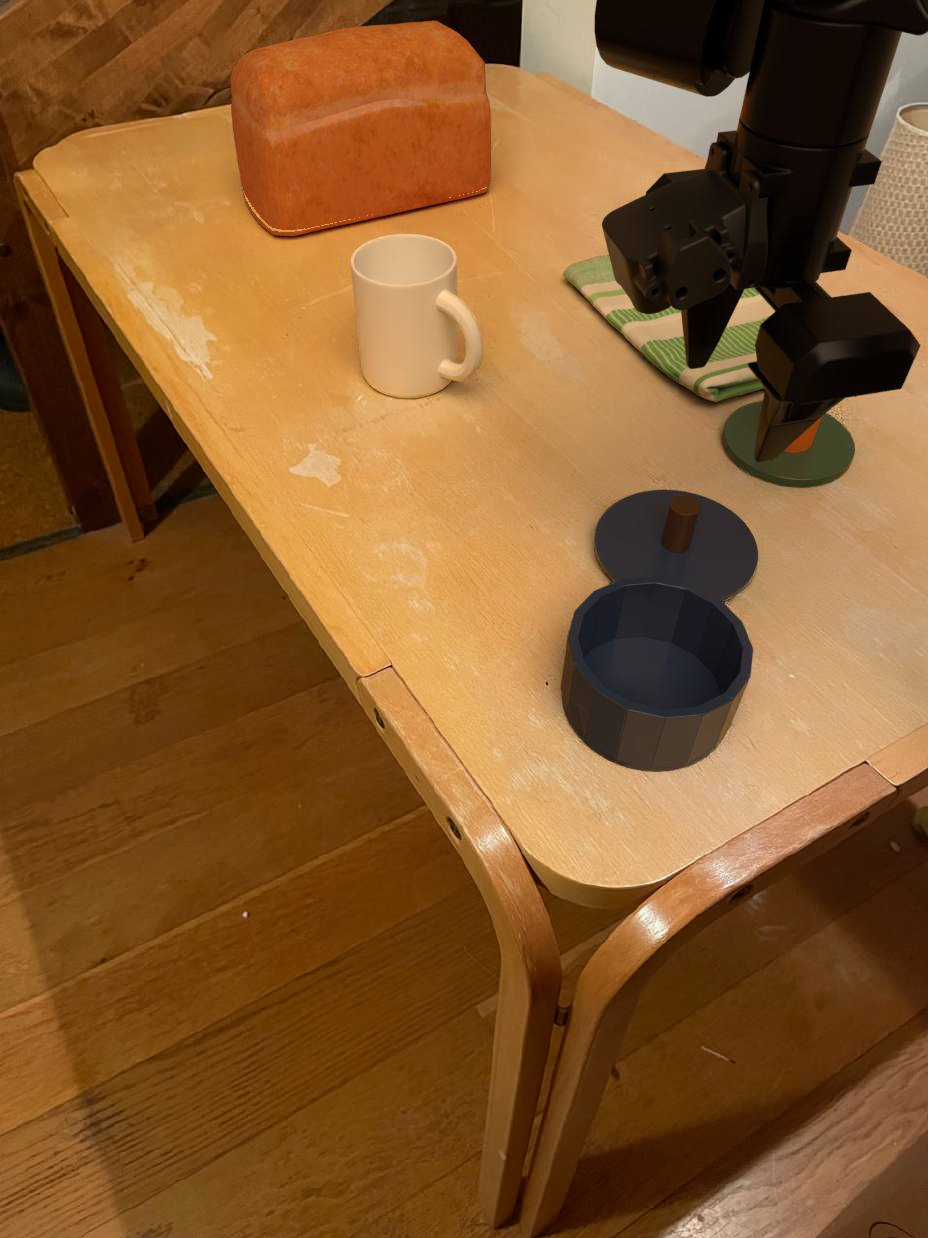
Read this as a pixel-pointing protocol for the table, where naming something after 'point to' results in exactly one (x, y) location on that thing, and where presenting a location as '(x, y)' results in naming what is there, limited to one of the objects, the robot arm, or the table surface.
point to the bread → (360, 124)
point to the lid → (677, 541)
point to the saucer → (789, 469)
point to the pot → (654, 672)
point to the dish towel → (678, 333)
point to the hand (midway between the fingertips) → (727, 410)
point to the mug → (411, 316)
